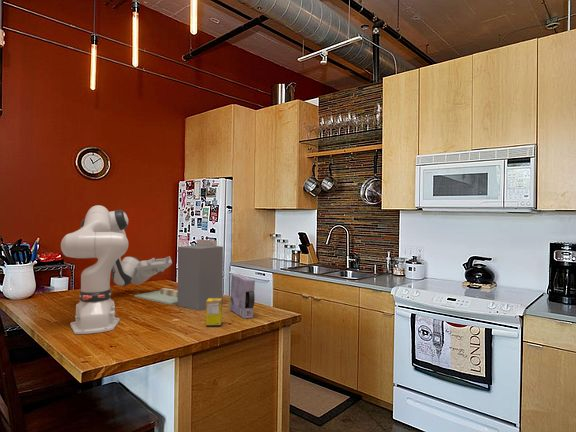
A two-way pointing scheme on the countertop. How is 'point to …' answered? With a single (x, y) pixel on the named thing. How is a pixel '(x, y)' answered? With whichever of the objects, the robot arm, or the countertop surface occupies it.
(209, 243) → the pale wood bar
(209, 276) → the charcoal stand
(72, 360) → the countertop surface
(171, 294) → the long maple bar
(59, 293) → the countertop surface
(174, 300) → the sage mat
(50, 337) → the countertop surface
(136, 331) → the countertop surface
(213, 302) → the supplement box
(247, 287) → the cake pan box
